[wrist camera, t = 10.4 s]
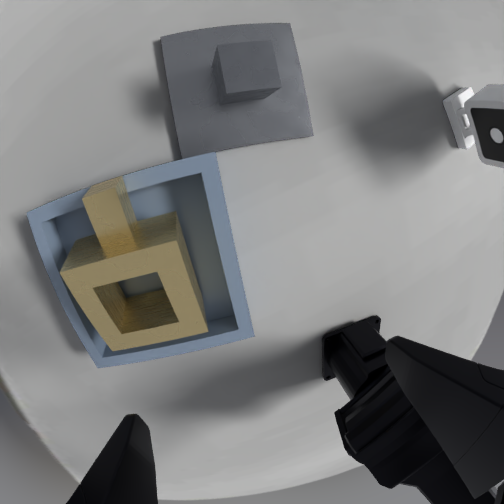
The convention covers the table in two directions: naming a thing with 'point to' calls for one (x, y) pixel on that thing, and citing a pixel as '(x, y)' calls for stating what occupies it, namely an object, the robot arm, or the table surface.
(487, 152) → the security camera
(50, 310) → the table surface
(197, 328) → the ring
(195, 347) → the tray
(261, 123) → the grey peg base
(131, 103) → the table surface
